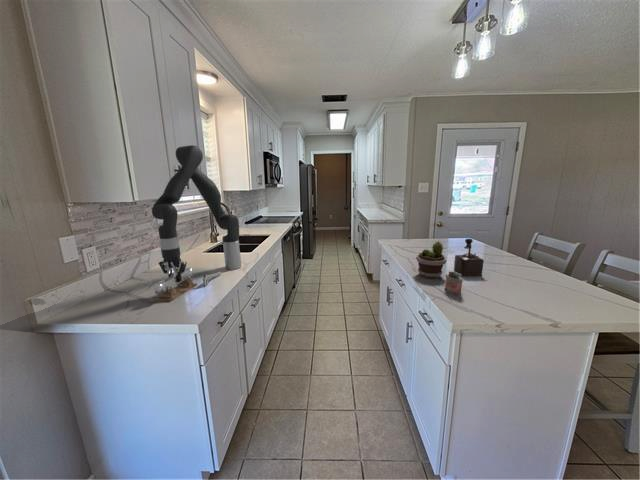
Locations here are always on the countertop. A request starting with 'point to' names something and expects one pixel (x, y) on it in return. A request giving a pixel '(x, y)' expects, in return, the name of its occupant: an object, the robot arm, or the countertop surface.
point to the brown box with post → (468, 263)
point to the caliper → (209, 278)
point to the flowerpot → (431, 262)
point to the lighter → (453, 283)
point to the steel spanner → (171, 281)
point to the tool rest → (176, 290)
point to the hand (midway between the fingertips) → (175, 281)
